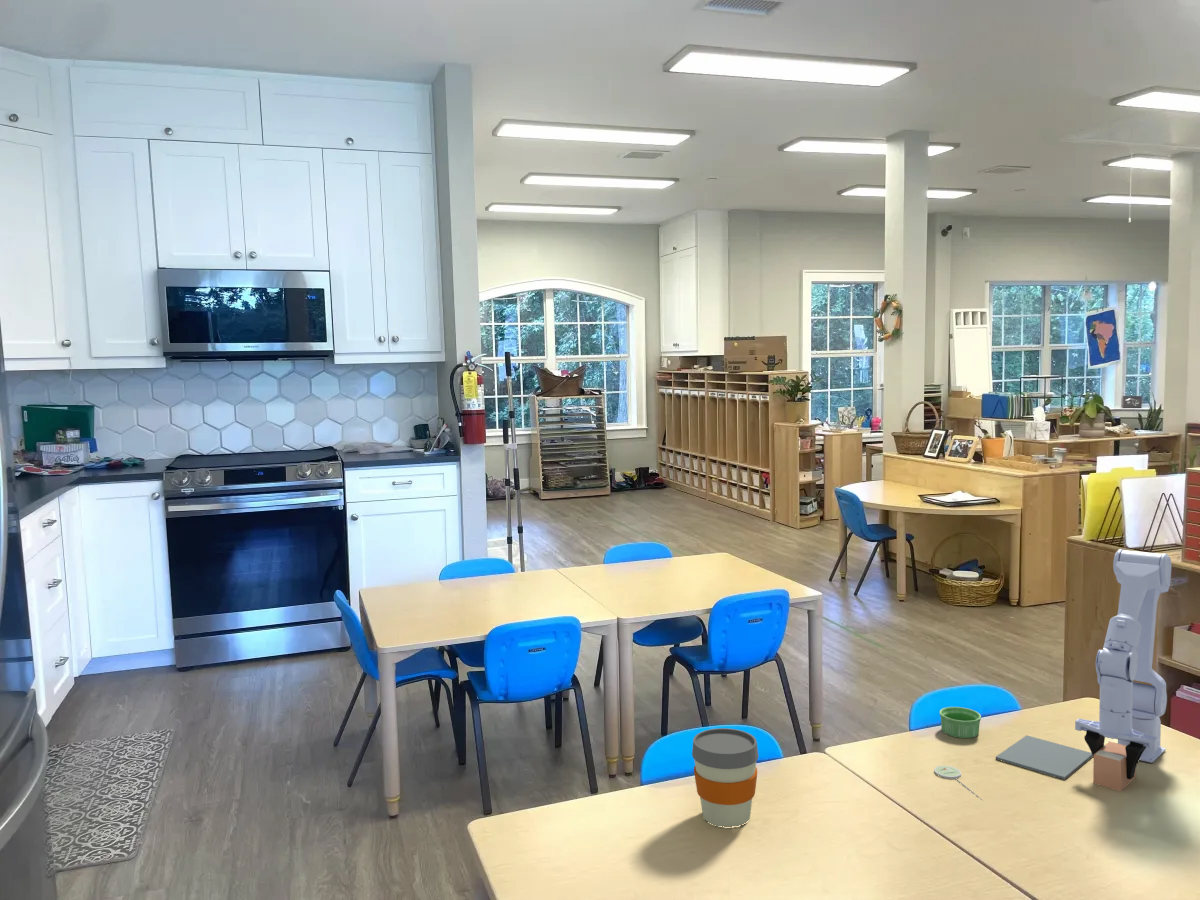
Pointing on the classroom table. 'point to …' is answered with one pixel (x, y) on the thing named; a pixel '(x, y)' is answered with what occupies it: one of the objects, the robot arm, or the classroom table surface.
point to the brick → (1111, 766)
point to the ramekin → (960, 722)
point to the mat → (1045, 756)
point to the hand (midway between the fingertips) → (1114, 773)
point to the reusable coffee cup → (725, 774)
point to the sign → (949, 773)
